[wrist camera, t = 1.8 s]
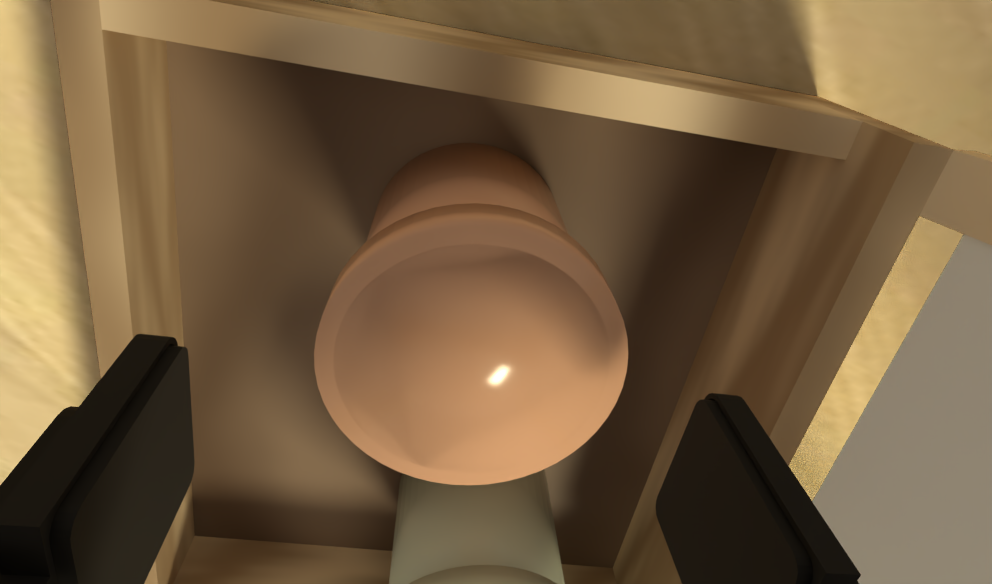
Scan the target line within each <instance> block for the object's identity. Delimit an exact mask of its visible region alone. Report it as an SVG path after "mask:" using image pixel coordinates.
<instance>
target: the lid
mask: <svg viewBox="0 0 992 584" xmlns="http://www.w3.org/2000/svg"><path fill="white" fill-rule="evenodd" d="M919 216H921V217H923V218H926V219H928V220H931V221H933V222H936V223H938V224H941V225H943V226H945V227H948V228H950V229H953V230H955V231H958V232H960V233H963V234H964V235H963V237H962V238H961V240H960V242H959V244H958V245H957V247H956V249H955V251H954V252H953V254H952V256H951V258H950V259H949V261H948V263H947V265H946V267H945V268H944V270H943V272H942V274H941V275H940V277H939V279H938V281H937V282H936V284H935V286H934V288H933V289H932V291H931V293H930V295H929V297H928V298H927V300H926V302H925V304H924V305H923V307H922V309H921V311H920V312H919V314H918V316H917V318H916V319H915V321H914V323H913V325H912V326H911V328H910V330H909V332H908V334H907V335H906V337H905V339H904V341H903V342H902V344H901V346H900V348H899V349H898V351H897V353H896V355H895V356H894V358H893V360H892V362H891V364H890V365H889V367H888V369H887V371H886V372H885V374H884V376H883V378H882V379H881V381H880V383H879V385H878V386H877V388H876V390H875V392H874V394H873V395H872V397H871V399H870V401H869V402H868V404H867V406H866V408H865V409H864V411H863V413H862V415H861V416H860V418H859V420H858V422H857V424H856V425H855V427H854V429H853V431H852V432H851V434H850V436H849V438H848V439H847V441H846V443H845V445H844V446H843V448H842V450H841V452H840V454H839V455H838V457H837V459H836V461H835V462H834V464H833V466H832V468H831V469H830V471H829V473H828V475H827V476H826V478H825V480H824V482H823V484H822V485H821V487H820V489H819V491H818V492H817V494H816V496H815V498H814V499H813V501H812V502H813V504H814V505H815V507H816V508H817V510H818V511H819V513H820V514H821V516H822V517H823V519H824V520H825V522H826V523H827V525H828V526H829V528H830V529H831V531H832V532H833V534H834V535H835V537H836V538H837V540H838V541H839V543H840V544H841V546H842V547H843V549H844V550H845V552H846V553H847V555H848V556H849V558H850V559H851V561H852V562H853V564H854V565H855V567H856V568H857V570H858V571H859V573H860V574H861V576H860V577H859V579H858V580H857V581H858V583H859V584H992V156H990V155H987V154H983V153H980V152H977V151H965V150H953V152H952V154H951V156H950V158H949V160H948V162H947V164H946V166H945V168H944V169H943V171H942V173H941V175H940V177H939V179H938V181H937V183H936V185H935V187H934V189H933V190H932V192H931V194H930V196H929V198H928V200H927V202H926V204H925V206H924V208H923V210H922V211H921V213H920V215H919Z"/></svg>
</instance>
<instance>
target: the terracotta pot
mask: <svg viewBox="0 0 992 584" xmlns="http://www.w3.org/2000/svg"><path fill="white" fill-rule="evenodd" d="M627 364H628V339H627V334H626V329H625V325H624V320H623V318H622V315H621V313H620V310H619V308H618V305H617V303H616V301H615V299H614V296H613V294H612V292H611V290H610V288H609V285H608V283H607V281H606V279H605V277H604V275H603V274H602V272H601V270H600V269H599V267H598V265H597V263H596V262H595V261H594V260H593V258H592V257H591V256H590V255H589V253H588V252H587V251H586V250H585V249H584V248H583V247H582V246H581V245H580V244H579V243H578V242H577V241H576V240H575V239H574V238H573V237H571V236H570V235H569V234H568V232H567V229H566V227H565V224H564V222H563V219H562V217H561V214H560V212H559V209H558V207H557V204H556V202H555V199H554V197H553V195H552V192H551V191H550V189H549V187H548V186H547V184H546V182H545V181H544V180H543V179H542V177H541V176H540V175H539V174H538V173H537V172H536V171H535V170H534V169H533V168H532V167H531V166H530V165H529V164H528V163H526V162H525V161H523V160H522V159H521V158H519V157H517V156H515V155H514V154H512V153H510V152H508V151H505V150H503V149H500V148H497V147H494V146H489V145H485V144H477V143H456V144H450V145H444V146H441V147H438V148H434V149H431V150H429V151H427V152H425V153H423V154H420V155H419V156H417V157H416V158H414V159H412V160H411V161H409V162H408V163H407V164H406V165H405V166H403V167H402V168H401V169H400V170H399V171H398V172H397V173H396V174H395V175H394V176H393V178H392V179H391V180H390V182H389V183H388V185H387V186H386V188H385V189H384V191H383V193H382V195H381V197H380V200H379V203H378V206H377V209H376V212H375V215H374V218H373V222H372V225H371V228H370V231H369V234H368V238H367V241H366V243H364V244H363V245H362V246H361V247H360V248H359V249H358V251H357V252H356V253H355V254H354V255H353V256H352V257H351V258H350V259H349V261H348V262H347V264H346V265H345V267H344V268H343V269H342V271H341V272H340V274H339V276H338V278H337V280H336V282H335V284H334V286H333V288H332V291H331V293H330V296H329V299H328V302H327V304H326V307H325V310H324V312H323V315H322V318H321V321H320V324H319V328H318V331H317V334H316V341H315V349H314V369H315V374H316V380H317V385H318V388H319V391H320V394H321V397H322V400H323V402H324V404H325V406H326V408H327V410H328V412H329V414H330V416H331V417H332V419H333V420H334V421H335V423H336V424H337V426H338V427H339V428H340V430H341V431H342V432H343V433H344V434H345V435H346V436H347V437H348V438H349V439H350V440H351V441H352V442H353V444H355V445H356V446H357V447H358V448H360V449H361V450H362V451H363V452H365V453H366V454H367V455H369V456H370V457H372V458H373V459H375V460H377V461H378V462H380V463H381V464H383V465H385V466H387V467H389V468H392V469H394V470H396V471H398V472H400V473H403V474H406V475H409V476H412V477H414V478H418V479H422V480H426V481H430V482H436V483H443V484H450V485H485V484H493V483H500V482H506V481H510V480H514V479H518V478H522V477H525V476H528V475H530V474H533V473H536V472H539V471H541V470H543V469H545V468H547V467H549V466H552V465H554V464H556V463H557V462H559V461H561V460H562V459H564V458H565V457H567V456H569V455H570V454H572V453H573V452H574V451H576V450H577V449H578V448H579V447H581V446H582V445H583V444H584V443H586V442H587V441H588V440H589V439H590V438H591V437H592V436H593V435H594V434H595V433H596V432H597V430H598V429H599V428H600V427H601V425H602V424H603V423H604V422H605V420H606V419H607V418H608V416H609V414H610V413H611V411H612V409H613V408H614V406H615V404H616V402H617V400H618V397H619V395H620V393H621V390H622V388H623V384H624V380H625V376H626V372H627Z"/></svg>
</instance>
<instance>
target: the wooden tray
mask: <svg viewBox="0 0 992 584" xmlns="http://www.w3.org/2000/svg"><path fill="white" fill-rule="evenodd" d="M50 3H51V10H52V18H53V25H54V33H55V40H56V48H57V55H58V63H59V70H60V78H61V85H62V93H63V100H64V107H65V115H66V122H67V130H68V137H69V145H70V152H71V160H72V167H73V175H74V182H75V190H76V197H77V205H78V212H79V220H80V227H81V235H82V242H83V250H84V257H85V265H86V272H87V280H88V287H89V295H90V302H91V310H92V317H93V325H94V332H95V340H96V347H97V355H98V362H99V370H100V377H101V378H102V377H103V376H104V374H105V373H106V372H107V371H108V369H109V368H110V367H111V365H112V364H113V363H114V362H115V360H116V359H117V358H118V357H119V355H120V354H121V353H122V351H123V350H124V349H125V348H126V346H127V345H128V344H129V343H130V341H131V340H132V339H133V337H135V336H136V335H137V334H148V335H158V336H168V337H174V338H175V339H176V341H177V343H178V346H182V347H186V348H187V350H188V356H189V374H190V391H191V409H192V426H193V444H194V461H195V463H194V473H193V477H192V481H191V484H190V486H189V488H188V491H187V493H186V495H185V497H184V499H183V501H182V503H181V506H180V508H179V510H178V512H177V514H176V516H175V519H174V521H173V523H172V525H171V527H170V529H169V531H168V534H167V536H166V538H165V540H164V542H163V544H162V547H161V549H160V551H159V553H158V555H157V557H156V559H155V562H154V564H153V566H152V568H151V570H150V572H149V575H148V577H147V579H146V581H145V583H144V584H389V578H390V568H391V559H392V550H393V540H394V531H395V522H396V512H397V503H398V494H399V484H400V479H401V475H402V473H400V472H398V471H396V470H394V469H392V468H389V467H387V466H385V465H383V464H381V463H380V462H378V461H377V460H375V459H373V458H372V457H370V456H369V455H367V454H366V453H365V452H363V451H362V450H361V449H360V448H358V447H357V446H356V445H355V444H353V442H352V441H351V440H350V439H349V438H348V437H347V436H346V435H345V434H344V433H343V432H342V431H341V430H340V428H339V427H338V426H337V424H336V423H335V421H334V420H333V419H332V417H331V416H330V414H329V412H328V410H327V408H326V406H325V404H324V402H323V400H322V397H321V394H320V391H319V388H318V385H317V380H316V374H315V369H314V349H315V341H316V334H317V331H318V328H319V324H320V321H321V318H322V315H323V312H324V310H325V307H326V304H327V302H328V299H329V296H330V293H331V291H332V288H333V286H334V284H335V282H336V280H337V278H338V276H339V274H340V272H341V271H342V269H343V268H344V267H345V265H346V264H347V262H348V261H349V259H350V258H351V257H352V256H353V255H354V254H355V253H356V252H357V251H358V249H359V248H360V247H361V246H362V245H363V244H364V243H366V241H367V238H368V234H369V231H370V228H371V225H372V222H373V218H374V215H375V212H376V209H377V206H378V203H379V200H380V197H381V195H382V193H383V191H384V189H385V188H386V186H387V185H388V183H389V182H390V180H391V179H392V178H393V176H394V175H395V174H396V173H397V172H398V171H399V170H400V169H401V168H402V167H403V166H405V165H406V164H407V163H408V162H409V161H411V160H412V159H414V158H416V157H417V156H419V155H420V154H423V153H425V152H427V151H429V150H431V149H434V148H438V147H441V146H444V145H450V144H456V143H477V144H485V145H489V146H494V147H497V148H500V149H503V150H505V151H508V152H510V153H512V154H514V155H515V156H517V157H519V158H521V159H522V160H523V161H525V162H526V163H528V164H529V165H530V166H531V167H532V168H533V169H534V170H535V171H536V172H537V173H538V174H539V175H540V176H541V177H542V179H543V180H544V181H545V182H546V184H547V186H548V187H549V189H550V191H551V192H552V195H553V197H554V199H555V202H556V204H557V207H558V209H559V212H560V214H561V217H562V219H563V222H564V224H565V227H566V229H567V232H568V234H569V235H570V236H571V237H573V238H574V239H575V240H576V241H577V242H578V243H579V244H580V245H581V246H582V247H583V248H584V249H585V250H586V251H587V252H588V253H589V255H590V256H591V257H592V258H593V260H594V261H595V262H596V263H597V265H598V267H599V269H600V270H601V272H602V274H603V275H604V277H605V279H606V281H607V283H608V285H609V288H610V290H611V292H612V294H613V296H614V299H615V301H616V303H617V305H618V308H619V310H620V313H621V315H622V318H623V320H624V325H625V329H626V334H627V339H628V364H627V372H626V376H625V380H624V384H623V388H622V390H621V393H620V395H619V397H618V400H617V402H616V404H615V406H614V408H613V409H612V411H611V413H610V414H609V416H608V418H607V419H606V420H605V422H604V423H603V424H602V425H601V427H600V428H599V429H598V430H597V432H596V433H595V434H594V435H593V436H592V437H591V438H590V439H589V440H588V441H587V442H586V443H584V444H583V445H582V446H581V447H579V448H578V449H577V450H576V451H574V452H573V453H572V454H570V455H569V456H567V457H565V458H564V459H562V460H561V461H559V462H557V463H556V464H554V465H552V466H549V467H547V468H545V469H544V470H545V473H546V478H547V484H548V489H549V495H550V501H551V507H552V513H553V518H554V524H555V530H556V536H557V542H558V547H559V553H560V559H561V565H562V571H563V576H564V582H565V584H682V583H681V580H680V577H679V575H678V572H677V569H676V567H675V564H674V561H673V559H672V556H671V553H670V551H669V548H668V546H667V543H666V540H665V538H664V535H663V532H662V530H661V527H660V524H659V522H658V519H657V516H656V499H657V496H658V494H659V491H660V489H661V487H662V484H663V482H664V479H665V477H666V474H667V472H668V470H669V467H670V465H671V462H672V460H673V458H674V455H675V453H676V450H677V448H678V446H679V443H680V441H681V438H682V436H683V433H684V431H685V429H686V426H687V424H688V421H689V419H690V417H691V414H692V412H693V409H694V407H695V405H696V403H697V402H698V401H699V400H701V399H703V400H704V399H705V397H706V396H707V395H708V394H710V393H717V394H727V395H737V396H740V397H742V398H743V399H744V401H745V402H746V404H747V405H748V407H749V408H750V410H751V411H752V412H753V414H754V415H755V417H756V418H757V420H758V421H759V423H760V424H761V426H762V427H763V429H764V430H765V432H766V433H767V435H768V436H769V438H770V439H771V441H772V442H773V444H774V445H775V447H776V448H777V450H778V451H779V453H780V454H781V456H782V457H783V459H784V460H785V462H786V463H787V465H789V463H790V462H791V460H792V458H793V456H794V454H795V452H796V450H797V448H798V446H799V444H800V442H801V441H802V439H803V437H804V435H805V433H806V431H807V429H808V427H809V425H810V423H811V421H812V420H813V418H814V416H815V414H816V412H817V410H818V408H819V406H820V404H821V402H822V400H823V399H824V397H825V395H826V393H827V391H828V389H829V387H830V385H831V383H832V381H833V379H834V378H835V376H836V374H837V372H838V370H839V368H840V366H841V364H842V362H843V360H844V358H845V357H846V355H847V353H848V351H849V349H850V347H851V345H852V343H853V341H854V339H855V337H856V336H857V334H858V332H859V330H860V328H861V326H862V324H863V322H864V320H865V318H866V316H867V315H868V313H869V311H870V309H871V307H872V305H873V303H874V301H875V299H876V297H877V295H878V294H879V292H880V290H881V288H882V286H883V284H884V282H885V280H886V278H887V276H888V274H889V273H890V271H891V269H892V267H893V265H894V263H895V261H896V259H897V257H898V255H899V253H900V252H901V250H902V248H903V246H904V244H905V242H906V240H907V238H908V236H909V234H910V232H911V231H912V229H913V227H914V225H915V223H916V221H917V219H918V217H919V215H920V213H921V211H922V210H923V208H924V206H925V204H926V202H927V200H928V198H929V196H930V194H931V192H932V190H933V189H934V187H935V185H936V183H937V181H938V179H939V177H940V175H941V173H942V171H943V169H944V168H945V166H946V164H947V162H948V160H949V158H950V156H951V154H952V152H953V149H950V148H948V147H945V146H943V145H940V144H938V143H935V142H933V141H930V140H928V139H925V138H922V137H920V136H917V135H915V134H912V133H910V132H907V131H905V130H902V129H900V128H897V127H894V126H892V125H889V124H887V123H884V122H882V121H879V120H877V119H874V118H872V117H869V116H866V115H864V114H861V113H859V112H856V111H854V110H851V109H849V108H846V107H844V106H841V105H838V104H836V103H833V102H831V101H828V100H826V99H823V98H821V97H817V96H812V95H807V94H802V93H796V92H791V91H786V90H781V89H775V88H770V87H765V86H759V85H754V84H749V83H744V82H738V81H733V80H728V79H722V78H717V77H712V76H707V75H701V74H696V73H691V72H685V71H680V70H675V69H670V68H664V67H659V66H654V65H648V64H643V63H638V62H633V61H627V60H622V59H617V58H611V57H606V56H601V55H596V54H590V53H585V52H580V51H574V50H569V49H564V48H559V47H553V46H548V45H543V44H537V43H532V42H527V41H522V40H516V39H511V38H506V37H500V36H495V35H490V34H485V33H479V32H474V31H469V30H463V29H458V28H453V27H448V26H442V25H437V24H432V23H426V22H421V21H416V20H411V19H405V18H400V17H395V16H389V15H384V14H379V13H374V12H368V11H363V10H358V9H353V8H347V7H342V6H337V5H331V4H326V3H321V2H316V1H310V0H50Z"/></svg>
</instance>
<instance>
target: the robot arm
mask: <svg viewBox="0 0 992 584" xmlns="http://www.w3.org/2000/svg"><path fill="white" fill-rule="evenodd" d="M194 463H195V461H194V444H193V426H192V409H191V391H190V374H189V356H188V350H187V348H186V347H182V346H178V343H177V341H176V339H175V338H174V337H168V336H158V335H148V334H137V335H136V336H135V337H133V339H132V340H131V341H130V343H129V344H128V345H127V346H126V348H125V349H124V350H123V351H122V353H121V354H120V355H119V357H118V358H117V359H116V360H115V362H114V363H113V364H112V365H111V367H110V368H109V369H108V371H107V372H106V373H105V374H104V376H103V377H102V378H101V380H100V381H99V382H98V383H97V385H96V386H95V387H94V388H93V390H92V391H91V392H90V394H89V395H88V396H87V397H86V399H85V400H84V401H83V402H82V404H81V405H80V406H79V407H68V408H66V409H64V410H63V411H62V412H61V413H60V414H59V415H58V416H57V417H56V418H55V419H54V420H53V422H52V423H51V424H50V425H49V427H48V428H47V429H46V430H45V431H44V433H43V434H42V435H41V436H40V438H39V439H38V440H37V441H36V442H35V444H34V445H33V446H32V447H31V449H30V450H29V451H28V452H27V454H26V455H25V456H24V457H23V458H22V460H21V461H20V462H19V463H18V465H17V466H16V467H15V468H14V469H13V471H12V472H11V473H10V474H9V476H8V477H7V478H6V479H5V481H4V482H3V483H2V484H1V485H0V584H144V583H145V581H146V579H147V577H148V575H149V572H150V570H151V568H152V566H153V564H154V562H155V559H156V557H157V555H158V553H159V551H160V549H161V547H162V544H163V542H164V540H165V538H166V536H167V534H168V531H169V529H170V527H171V525H172V523H173V521H174V519H175V516H176V514H177V512H178V510H179V508H180V506H181V503H182V501H183V499H184V497H185V495H186V493H187V491H188V488H189V486H190V484H191V481H192V477H193V473H194ZM656 516H657V519H658V522H659V524H660V527H661V530H662V532H663V535H664V538H665V540H666V543H667V546H668V548H669V551H670V553H671V556H672V559H673V561H674V564H675V567H676V569H677V572H678V575H679V577H680V580H681V583H682V584H859V583H858V581H857V580H858V579H859V577H860V576H861V574H860V573H859V571H858V570H857V568H856V567H855V565H854V564H853V562H852V561H851V559H850V558H849V556H848V555H847V553H846V552H845V550H844V549H843V547H842V546H841V544H840V543H839V541H838V540H837V538H836V537H835V535H834V534H833V532H832V531H831V529H830V528H829V526H828V525H827V523H826V522H825V520H824V519H823V517H822V516H821V514H820V513H819V511H818V510H817V508H816V507H815V505H814V504H813V502H812V501H811V499H810V498H809V496H808V495H807V493H806V492H805V490H804V489H803V487H802V486H801V484H800V483H799V481H798V480H797V478H796V477H795V475H794V474H793V472H792V471H791V469H790V468H789V466H788V465H787V463H786V462H785V460H784V459H783V457H782V456H781V454H780V453H779V451H778V450H777V448H776V447H775V445H774V444H773V442H772V441H771V439H770V438H769V436H768V435H767V433H766V432H765V430H764V429H763V427H762V426H761V424H760V423H759V421H758V420H757V418H756V417H755V415H754V414H753V412H752V411H751V410H750V408H749V407H748V405H747V404H746V402H745V401H744V399H743V398H742V397H740V396H737V395H727V394H717V393H710V394H708V395H707V396H706V397H705V399H704V400H703V399H701V400H699V401H698V402H697V403H696V405H695V407H694V409H693V412H692V414H691V417H690V419H689V421H688V424H687V426H686V429H685V431H684V433H683V436H682V438H681V441H680V443H679V446H678V448H677V450H676V453H675V455H674V458H673V460H672V462H671V465H670V467H669V470H668V472H667V474H666V477H665V479H664V482H663V484H662V487H661V489H660V491H659V494H658V496H657V499H656Z"/></svg>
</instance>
